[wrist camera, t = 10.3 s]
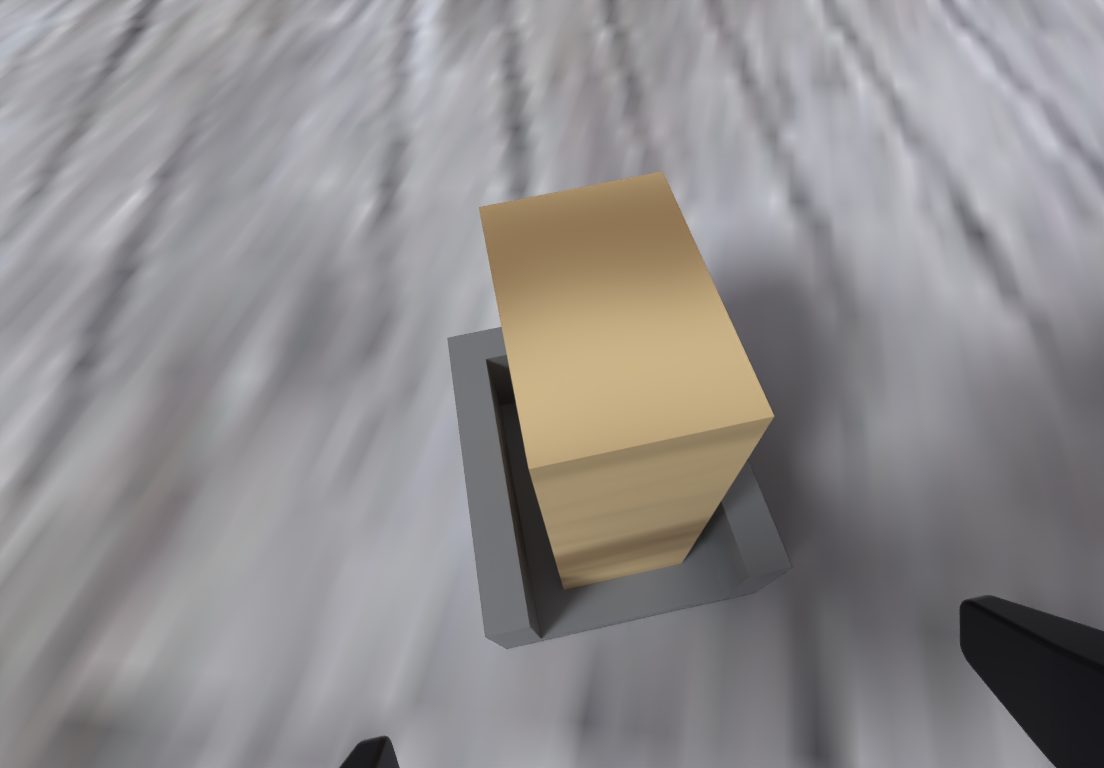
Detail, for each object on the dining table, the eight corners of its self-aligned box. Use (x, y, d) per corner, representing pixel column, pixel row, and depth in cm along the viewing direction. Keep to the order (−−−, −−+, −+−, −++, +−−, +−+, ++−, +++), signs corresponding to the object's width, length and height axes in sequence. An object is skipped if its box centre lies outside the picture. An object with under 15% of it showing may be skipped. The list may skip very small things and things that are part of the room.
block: (681, 563, 18) (774, 416, 9) (564, 589, 18) (529, 469, 9) (632, 407, 21) (662, 171, 12) (531, 429, 21) (479, 207, 12)
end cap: (755, 592, 18) (792, 567, 15) (506, 649, 18) (485, 636, 14) (666, 351, 23) (678, 290, 20) (470, 392, 23) (447, 337, 19)
